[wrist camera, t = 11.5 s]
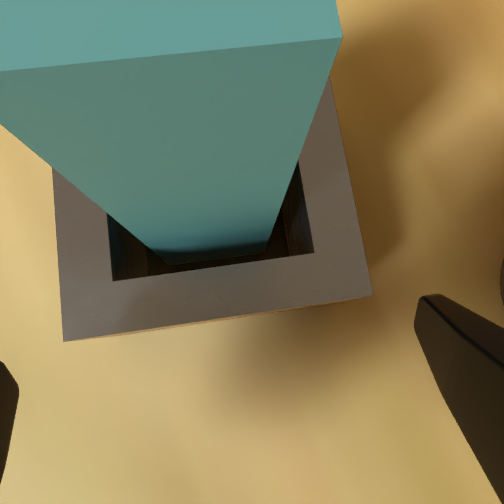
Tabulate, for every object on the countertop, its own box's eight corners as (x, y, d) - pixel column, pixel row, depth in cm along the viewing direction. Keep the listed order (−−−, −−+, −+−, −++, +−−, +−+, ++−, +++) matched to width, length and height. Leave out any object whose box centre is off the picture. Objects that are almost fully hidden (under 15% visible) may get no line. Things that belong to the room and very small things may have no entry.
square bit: (263, 253, 17) (342, 36, 4) (169, 265, 17) (-56, 77, 4) (251, 165, 18) (285, -256, 5) (160, 175, 17) (-58, -237, 5)
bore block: (333, 303, 17) (373, 295, 12) (117, 335, 16) (63, 341, 11) (297, 107, 18) (319, 27, 13) (99, 131, 18) (45, 56, 13)
